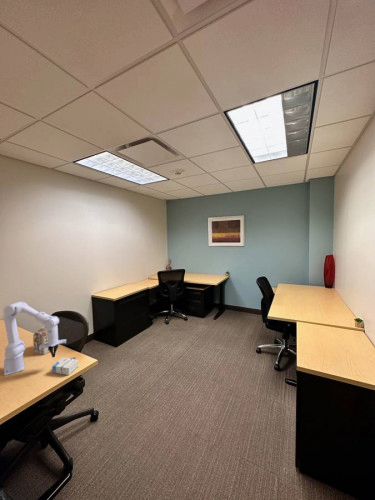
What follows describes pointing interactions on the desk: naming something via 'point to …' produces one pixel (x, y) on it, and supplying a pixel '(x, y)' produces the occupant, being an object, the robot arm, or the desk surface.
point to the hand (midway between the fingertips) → (53, 356)
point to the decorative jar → (40, 341)
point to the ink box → (65, 366)
